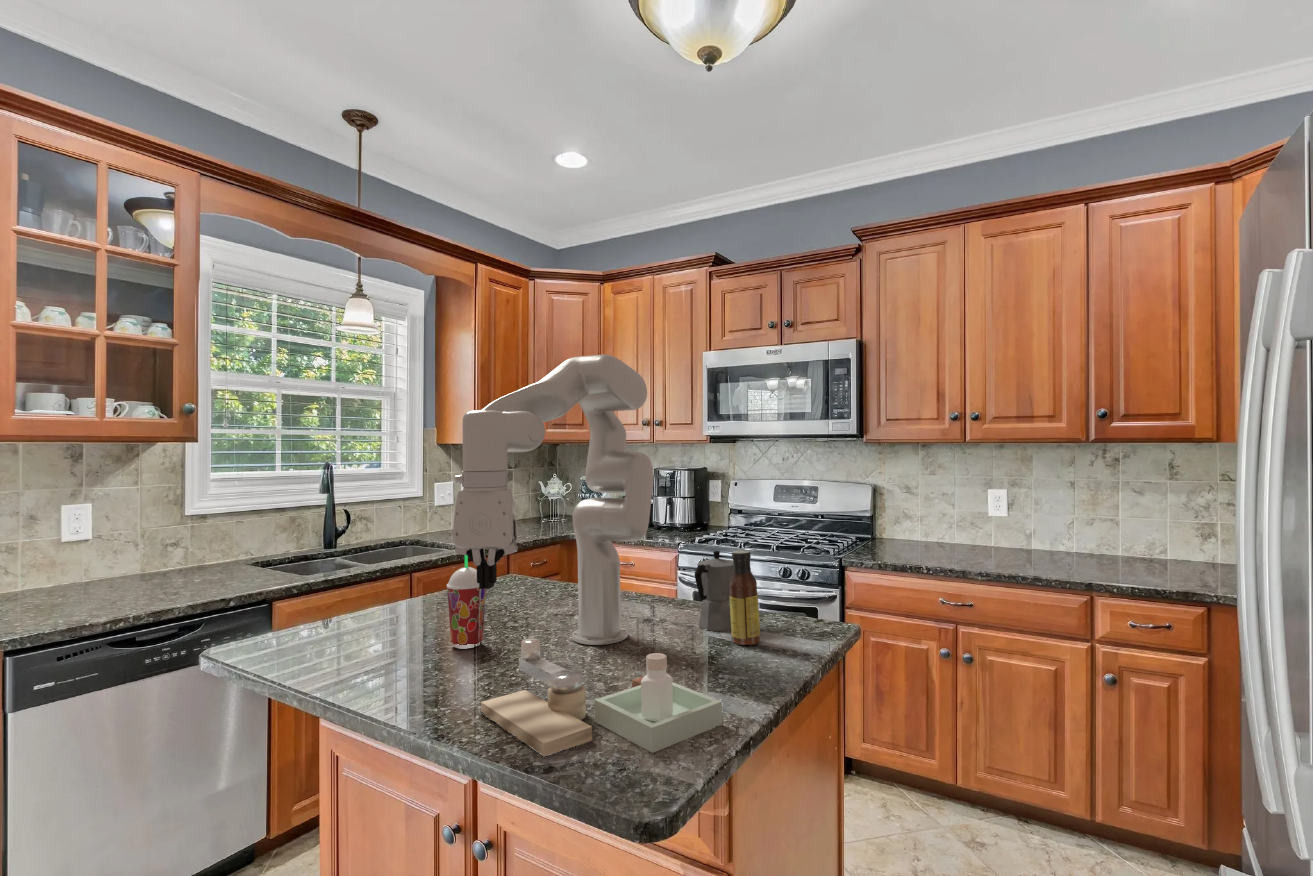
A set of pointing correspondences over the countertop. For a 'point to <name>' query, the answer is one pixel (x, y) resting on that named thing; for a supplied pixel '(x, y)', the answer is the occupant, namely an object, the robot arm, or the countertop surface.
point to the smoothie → (466, 606)
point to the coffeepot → (714, 592)
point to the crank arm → (547, 669)
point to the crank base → (544, 718)
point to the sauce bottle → (743, 601)
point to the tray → (685, 722)
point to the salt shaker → (656, 689)
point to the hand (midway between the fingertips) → (486, 587)
